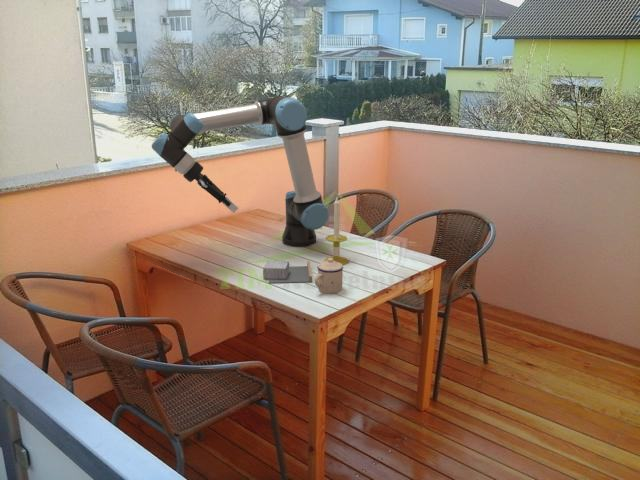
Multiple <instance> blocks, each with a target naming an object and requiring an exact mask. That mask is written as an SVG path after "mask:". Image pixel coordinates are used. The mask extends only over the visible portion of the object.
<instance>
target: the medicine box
mask: <svg viewBox="0 0 640 480" xmlns="http://www.w3.org/2000/svg"><path fill="white" fill-rule="evenodd" d="M289 267H290V261H287V260H267V261H266V262H265V265H264V266H263V268H262V275H263V277H262V278H263V279H264V280H266V279H267V280H269V279H286V278H287V276H288V273H289Z"/></svg>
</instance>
